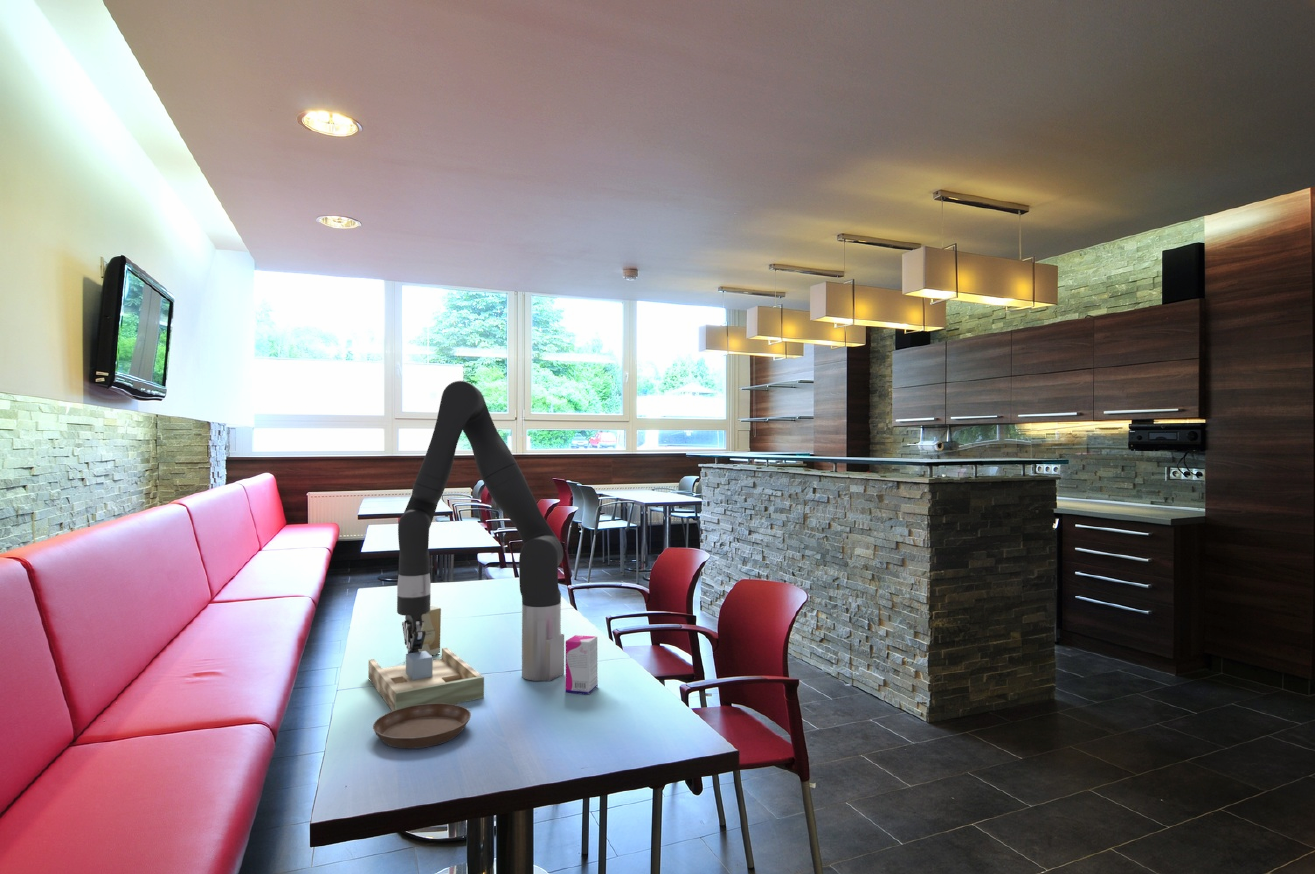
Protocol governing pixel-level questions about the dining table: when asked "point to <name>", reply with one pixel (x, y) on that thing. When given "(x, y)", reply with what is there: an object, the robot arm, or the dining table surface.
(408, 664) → the block
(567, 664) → the supplement box
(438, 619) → the skincare box
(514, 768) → the dining table surface
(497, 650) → the dining table surface
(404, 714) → the plant saucer
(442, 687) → the channel
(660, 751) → the dining table surface
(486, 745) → the dining table surface
